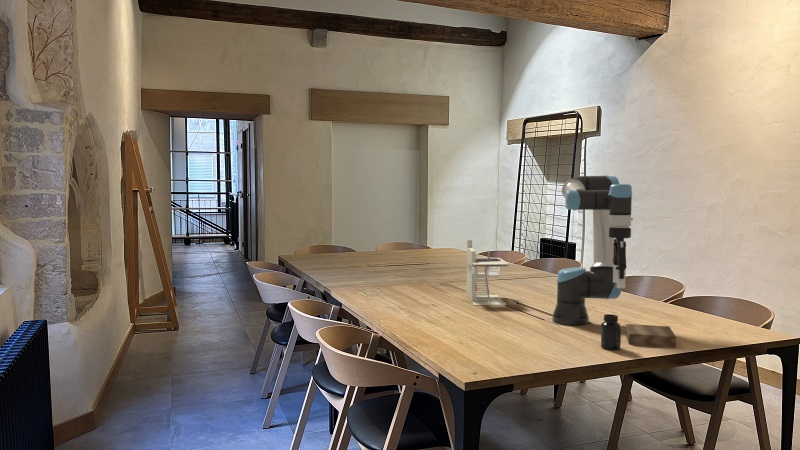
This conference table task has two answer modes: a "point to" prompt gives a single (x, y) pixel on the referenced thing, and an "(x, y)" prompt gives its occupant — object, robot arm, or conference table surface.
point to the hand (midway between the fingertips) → (618, 285)
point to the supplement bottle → (610, 333)
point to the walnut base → (650, 335)
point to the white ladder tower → (473, 272)
